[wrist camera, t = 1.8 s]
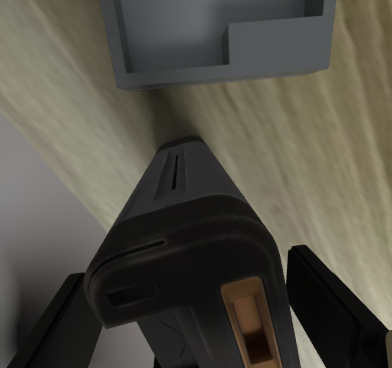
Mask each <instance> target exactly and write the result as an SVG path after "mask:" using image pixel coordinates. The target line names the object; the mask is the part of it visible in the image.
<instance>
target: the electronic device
mask: <svg viewBox="0 0 392 368" xmlns="http://www.w3.org/2000/svg"><path fill="white" fill-rule="evenodd" d="M83 285H84V292H85V295H86V299H87V301H88V303H89V305H90V307H91V309H92V311H93V312H94V314H95V315H96V317H97V318H98V320H99V321H100V322H101V324H102V325H103V326H104V327H105V328H106V329H109V328H112V327H116V326H120V325H124V324H127V323H131V322H135V321H136V322H137V323H138V325H139V327H140V329H141V331H142V333H143V335H144V336H145V338H146V340H147V342H148V344H149V345H150V347H151V349H152V351H153V353H154V355H155V358H154V367H153V368H301V365H300V360H299V355H298V349H297V344H296V338H295V333H294V328H293V322H292V317H291V311H290V306H289V301H288V295H287V290H286V284H285V279H284V274H283V268H282V263H281V257H280V254H279V251H278V247H277V244H276V242H275V240H274V238H273V236H272V235H271V234H270V232H269V231H268V230H267V228H266V227H265V225H264V224H263V223H262V221H261V220H260V218H259V217H258V216H257V214H256V213H255V211H254V210H253V209H252V207H251V206H250V204H249V203H248V202H247V200H246V199H245V197H244V196H243V195H242V193H241V192H240V191H239V189H238V188H237V186H236V185H235V184H234V182H233V181H232V179H231V178H230V177H229V175H228V174H227V173H226V171H225V170H224V168H223V167H222V166H221V164H220V163H219V161H218V160H217V159H216V157H215V156H214V154H213V153H212V152H211V150H210V149H209V147H208V146H207V145H206V143H205V142H204V141H203V139H201V138H200V137H198V136H187V137H184V138H181V139H177V140H174V141H171V142H168V143H165V144H163V145H162V146H161V147H160V148H159V149H158V151H157V153H156V154H155V156H154V158H153V159H152V161H151V163H150V164H149V166H148V168H147V169H146V171H145V173H144V174H143V176H142V178H141V179H140V181H139V183H138V184H137V186H136V188H135V189H134V191H133V193H132V194H131V196H130V198H129V199H128V201H127V203H126V204H125V206H124V208H123V209H122V211H121V213H120V214H119V216H118V218H117V219H116V221H115V223H114V224H113V226H112V228H111V229H110V231H109V233H108V234H107V236H106V238H105V239H104V241H103V243H102V245H101V246H100V248H99V249H98V251H97V253H96V254H95V257H94V258H93V260H92V261H91V263H90V265H89V267H88V268H87V270H86V272H85V276H84V282H83Z"/></svg>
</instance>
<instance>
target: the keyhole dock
mask: <svg viewBox="0 0 392 368" xmlns="http://www.w3.org/2000/svg"><path fill="white" fill-rule="evenodd" d="M100 3H101V8H102V13H103V18H104V23H105V28H106V33H107V38H108V43H109V49H110V54H111V59H112V64H113V69H114V74H115V79H116V84H117V88H120V89H123V90H126V91H137V90H148V89H159V88H170V87H181V86H192V85H203V84H214V83H225V82H236V81H247V80H258V79H269V78H280V77H291V76H302V75H307V74H310V73H314V72H317V71H321V70H324V69H328V68H329V60H330V51H331V41H332V32H333V23H334V14H335V5H336V0H100Z"/></svg>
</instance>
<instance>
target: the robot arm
mask: <svg viewBox="0 0 392 368" xmlns="http://www.w3.org/2000/svg"><path fill="white" fill-rule="evenodd" d="M84 276H85V273H76V274H70V275H69V276H68V277H67V279H66V280H65V282H64V283H63V285H62V286H61V288H60V289H59V291H58V292H57V294H56V295H55V297H54V298H53V300H52V301H51V303H50V304H49V306H48V307H47V308H46V310H45V311H44V313H43V314H42V316H41V317H40V319H39V320H38V322H37V323H36V325H35V326H34V328H33V329H32V331H31V332H30V334H29V335H28V337H27V338H26V340H25V341H24V343H23V345H22V346H21V347H20V349H19V350H18V352H17V353H16V355H15V356H14V358H13V359H12V361H11V362H10V364H9V365H8V367H7V368H88V366H89V363H90V360H91V358H92V355H93V352H94V349H95V346H96V343H97V341H98V338H99V335H100V332H101V329H102V326H103V325H102V324H101V322H100V321H99V320H98V318H97V317H96V315H95V314H94V312H93V311H92V309H91V307H90V305H89V303H88V301H87V299H86V295H85V292H84V285H83V282H84ZM286 290H287V295H288V301H289V304H290V306H291V308H292V309H293V311H294V313H295V315H296V316H297V318H298V320H299V322H300V323H301V325H302V327H303V329H304V330H305V332H306V334H307V336H308V337H309V339H310V341H311V342H312V344H313V346H314V348H315V349H316V351H317V353H318V355H319V356H320V358H321V360H322V362H323V363H324V365H325V367H326V368H392V330H390V331H389V330H388V329H387V328H386V327H385V325H384V324H383V323H382V322H381V321H380V320H379V319H378V318H377V317H376V316H375V315H374V314H373V313H372V312H371V311H370V310H369V309H368V308H367V307H366V306H365V305H364V304H363V303H362V302H361V301H360V300H359V298H358V297H357V296H356V295H355V294H354V293H353V292H352V291H351V290H350V289H349V288H348V287H347V286H346V285H345V284H344V283H343V282H342V281H341V280H340V279H339V278H338V277H337V276H336V275H335V274H334V273H332V272H331V271H330V270H329V269H328V267H327V266H326V265H325V264H324V263H323V262H322V261H321V260H320V259H319V258H318V257H317V256H316V255H315V254H314V253H313V252H312V251H311V250H310V249H309V248H308V247H307V246H306V245H297V246H292V248H291V250H289V251H288V262H287V277H286Z"/></svg>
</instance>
